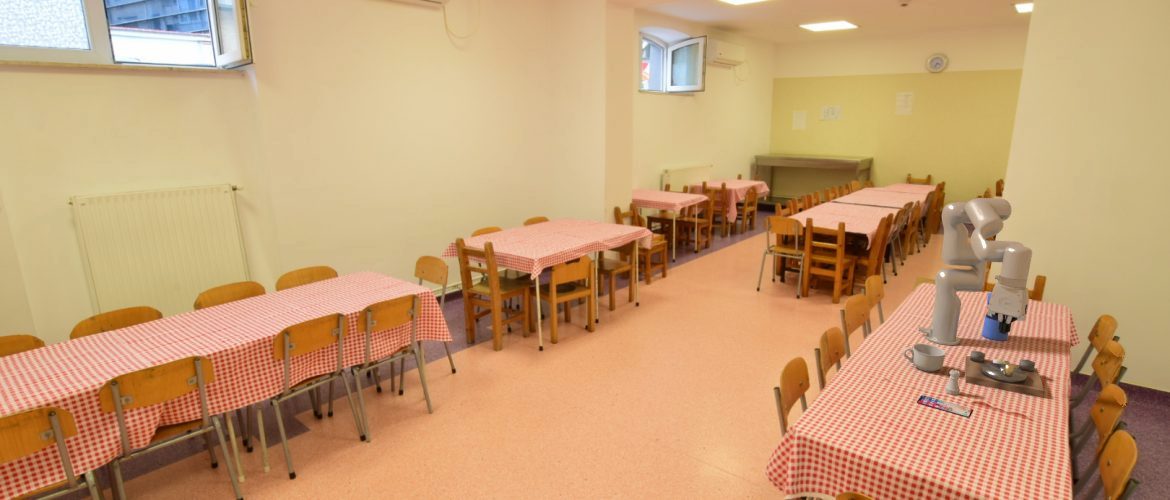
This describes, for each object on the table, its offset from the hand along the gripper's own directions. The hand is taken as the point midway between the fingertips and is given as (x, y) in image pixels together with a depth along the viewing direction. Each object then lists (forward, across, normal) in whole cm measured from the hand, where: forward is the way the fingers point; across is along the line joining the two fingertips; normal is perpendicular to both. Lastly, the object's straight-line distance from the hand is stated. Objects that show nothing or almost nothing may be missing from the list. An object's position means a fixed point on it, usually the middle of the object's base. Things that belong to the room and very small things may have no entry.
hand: (1003, 332), depth 198 cm
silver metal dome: (+17, 0, +4) cm, 18 cm away
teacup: (+20, -22, -7) cm, 30 cm away
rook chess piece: (+20, -5, -19) cm, 28 cm away
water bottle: (+21, -22, +52) cm, 61 cm away
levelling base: (+20, -1, +8) cm, 22 cm away
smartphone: (+20, -1, -32) cm, 38 cm away
